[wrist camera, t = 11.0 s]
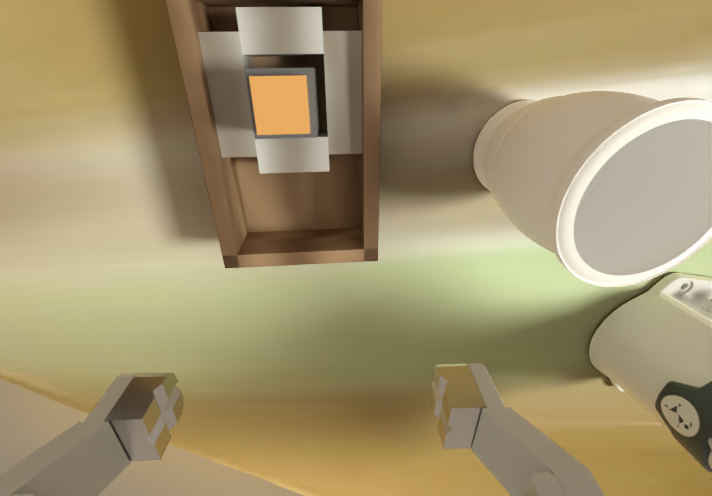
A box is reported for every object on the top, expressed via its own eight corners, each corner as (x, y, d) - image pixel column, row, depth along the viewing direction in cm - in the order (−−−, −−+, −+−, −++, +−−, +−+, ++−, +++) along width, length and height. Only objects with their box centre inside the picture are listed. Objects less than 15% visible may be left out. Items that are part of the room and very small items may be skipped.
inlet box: (372, -11, 25) (383, -32, 20) (370, 234, 34) (377, 260, 29) (192, -11, 24) (158, -32, 19) (240, 239, 33) (225, 268, 29)
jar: (545, 208, 34) (681, 294, 21) (448, 198, 33) (528, 282, 20) (591, 95, 30) (805, 113, 16) (480, 78, 28) (614, 82, 15)
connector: (316, 68, 26) (312, 67, 19) (319, 123, 28) (316, 140, 21) (264, 69, 26) (240, 68, 19) (271, 124, 28) (251, 141, 21)
